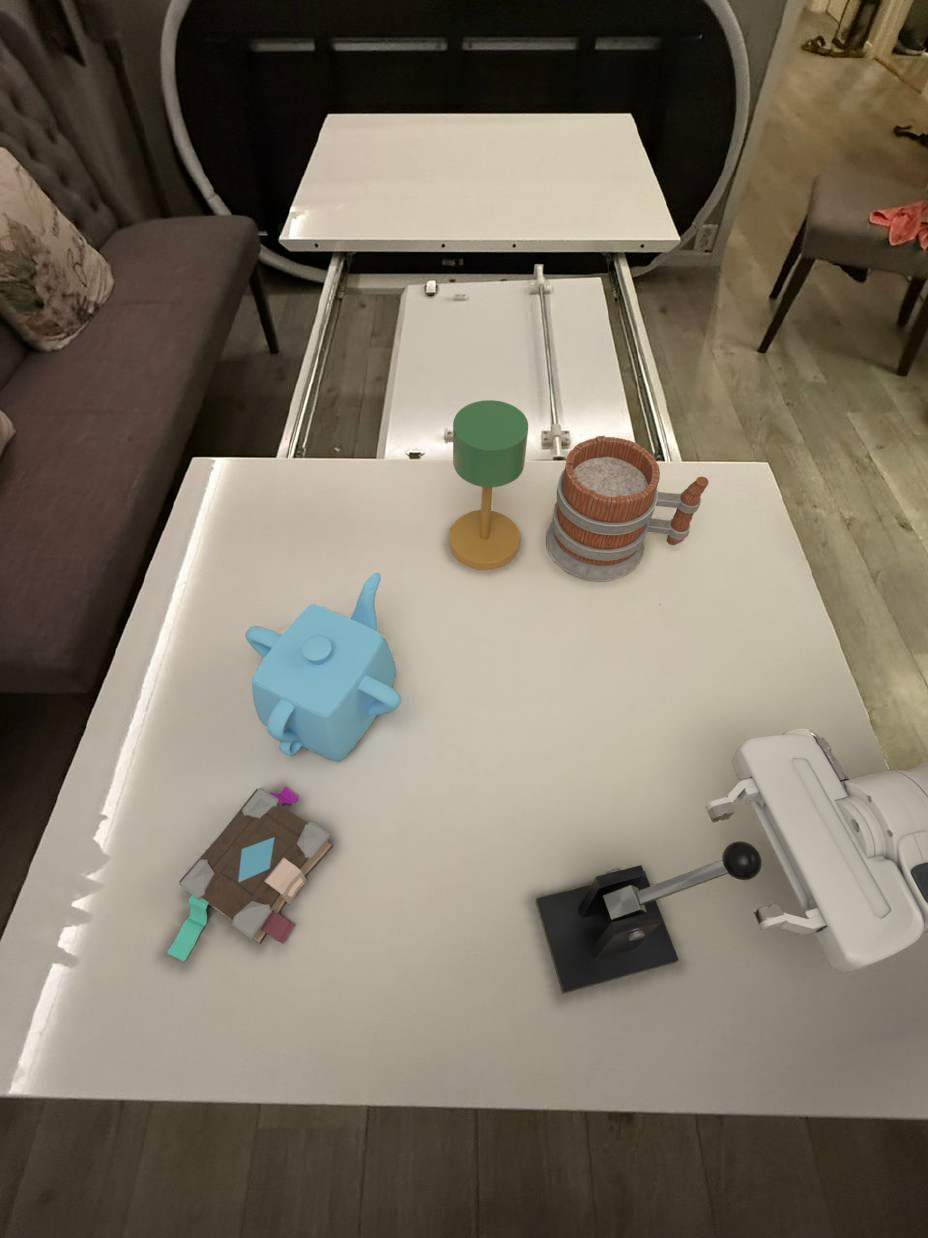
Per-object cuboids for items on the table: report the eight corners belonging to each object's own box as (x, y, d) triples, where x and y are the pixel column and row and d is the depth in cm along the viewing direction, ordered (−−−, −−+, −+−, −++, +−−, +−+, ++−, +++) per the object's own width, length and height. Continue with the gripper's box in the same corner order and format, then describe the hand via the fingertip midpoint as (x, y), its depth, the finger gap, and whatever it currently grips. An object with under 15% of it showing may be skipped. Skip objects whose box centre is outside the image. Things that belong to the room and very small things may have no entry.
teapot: (410, 757, 86) (404, 701, 75) (268, 783, 84) (241, 729, 73) (387, 631, 96) (379, 565, 85) (260, 651, 94) (235, 587, 83)
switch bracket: (642, 873, 78) (671, 833, 68) (676, 962, 73) (713, 934, 63) (535, 901, 77) (548, 864, 66) (562, 994, 72) (581, 970, 61)
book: (238, 1009, 71) (225, 1002, 66) (147, 937, 74) (129, 926, 70) (362, 837, 80) (357, 821, 76) (276, 780, 84) (267, 762, 80)
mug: (548, 504, 110) (560, 424, 97) (678, 517, 108) (707, 439, 96) (542, 577, 102) (554, 500, 89) (682, 592, 100) (714, 517, 88)
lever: (753, 839, 65) (748, 832, 63) (770, 875, 63) (766, 869, 61) (609, 893, 69) (599, 889, 66) (621, 928, 67) (611, 925, 64)
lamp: (530, 558, 103) (546, 441, 86) (464, 578, 101) (466, 461, 84) (503, 510, 109) (512, 390, 91) (439, 527, 107) (437, 407, 89)
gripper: (829, 709, 69) (693, 741, 66) (966, 935, 57) (806, 982, 55) (803, 739, 74) (676, 769, 72) (923, 952, 62) (776, 995, 60)
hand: (733, 864), depth 63 cm, fingers open, 8 cm apart
